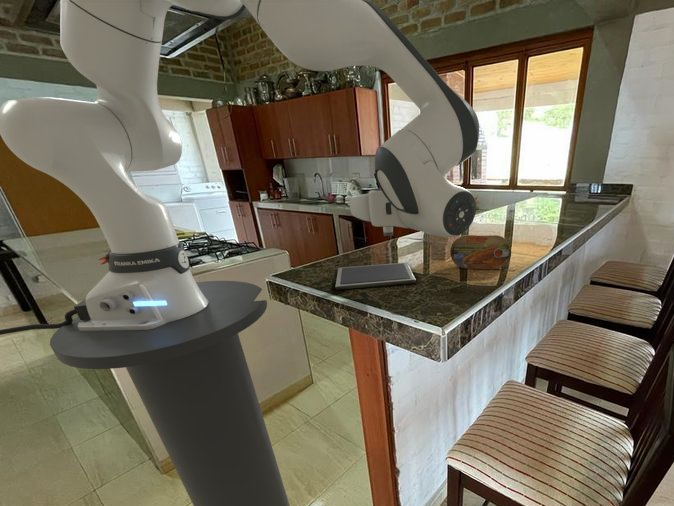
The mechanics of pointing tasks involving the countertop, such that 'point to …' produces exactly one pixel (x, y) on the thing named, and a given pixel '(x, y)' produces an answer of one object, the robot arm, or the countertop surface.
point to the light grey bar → (388, 231)
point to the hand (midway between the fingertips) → (384, 199)
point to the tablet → (374, 276)
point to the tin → (480, 251)
